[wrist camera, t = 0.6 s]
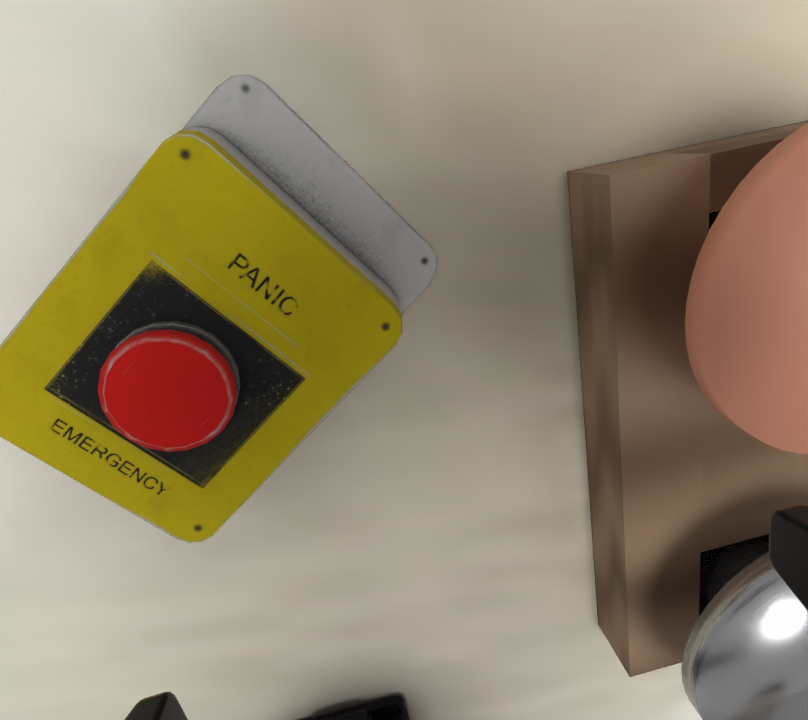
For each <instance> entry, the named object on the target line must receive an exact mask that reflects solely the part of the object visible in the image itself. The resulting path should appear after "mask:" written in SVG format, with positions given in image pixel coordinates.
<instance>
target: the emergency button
mask: <svg viewBox="0 0 808 720" xmlns="http://www.w3.org/2000/svg"><path fill="white" fill-rule="evenodd" d="M436 262H437V257H436V256H435V254H434V252H433V250H432V248H431V246H430V245H429V244H428V243H427V242H426V241H425V240H424V239H423V238H422V237H421V236H420V235H419V234H418V233H417V232H416V231H415V230H414V229H413V228H412V227H411V226H410V225H409V224H408V223H407V222H406V221H405V220H404V219H403V218H402V217H401V216H400V215H399V214H398V213H396V212H395V211H394V210H393V209H392V208H391V207H390V206H389V205H388V204H387V203H386V202H385V201H384V200H383V199H382V198H381V197H380V196H379V195H378V194H377V193H376V192H375V191H374V190H373V189H372V188H371V187H370V186H369V185H368V184H367V183H366V182H365V181H364V180H363V179H362V178H361V177H360V176H359V175H358V174H357V173H356V172H355V171H354V170H353V169H352V168H351V167H350V166H349V165H348V164H347V163H346V162H344V161H343V160H342V159H341V158H340V157H339V156H338V155H337V154H336V153H335V152H334V151H333V150H332V149H331V148H330V147H329V146H328V145H327V144H326V143H325V142H324V141H323V140H322V139H321V138H320V137H319V136H318V135H317V134H316V133H315V132H314V131H313V130H312V129H311V128H310V127H309V126H308V125H307V124H306V123H305V122H304V121H303V120H302V119H301V118H300V117H299V116H298V115H297V114H296V113H295V112H293V111H292V110H291V109H290V108H289V107H288V106H287V105H286V104H285V103H284V102H283V101H282V100H281V99H280V98H279V97H278V96H277V95H276V94H275V93H274V92H273V91H272V90H271V89H270V88H269V87H268V86H267V85H266V84H265V83H263V82H261V81H259V80H258V79H256V78H254V77H252V76H250V75H242V76H231V77H230V78H228V79H227V80H226V81H224V82H223V83H222V84H220V85H219V86H218V87H216V88H215V90H214V91H213V92H212V93H211V95H210V96H209V97H208V98H207V100H206V101H205V102H204V103H203V105H202V106H201V107H200V108H199V110H198V111H197V112H196V113H195V115H194V116H193V117H192V118H191V120H190V121H189V122H188V123H187V125H186V126H185V127H184V128H183V130H180V131H179V132H177V133H176V134H174V135H173V136H171V137H169V138H168V139H166V140H165V141H164V142H162V144H161V145H160V146H159V147H158V149H157V150H156V151H155V152H154V154H153V155H152V156H151V157H150V159H149V160H148V161H147V162H146V164H145V165H144V166H143V167H142V169H141V170H140V171H139V172H138V174H137V175H136V176H135V177H134V179H133V180H132V181H131V182H130V184H129V185H128V186H127V187H126V189H125V190H124V191H123V192H122V194H121V195H120V196H119V197H118V199H117V200H116V201H115V202H114V204H113V205H112V206H111V207H110V209H109V210H108V211H107V212H106V214H105V215H104V216H103V217H102V219H101V220H100V221H99V222H98V224H97V225H96V226H95V227H94V229H93V230H92V231H91V232H90V234H89V235H88V236H87V237H86V239H85V240H84V241H83V242H82V244H81V245H80V246H79V247H78V249H77V250H76V251H75V252H74V254H73V255H72V256H71V257H70V259H69V260H68V261H67V262H66V264H65V265H64V266H63V267H62V269H61V270H60V271H59V272H58V274H57V275H56V276H55V277H54V279H53V280H52V281H51V282H50V284H49V285H48V286H47V287H46V289H45V290H44V291H43V292H42V294H41V295H40V296H39V297H38V299H37V300H36V301H35V302H34V304H33V305H32V306H31V307H30V309H29V310H28V311H27V312H26V314H25V315H24V316H23V317H22V319H21V320H20V321H19V322H18V324H17V325H16V326H15V327H14V329H13V330H12V331H11V332H10V334H9V335H8V336H7V337H6V339H5V340H4V341H3V342H2V344H1V345H0V437H2V438H4V439H5V440H7V441H9V442H11V443H12V444H14V445H16V446H17V447H19V448H21V449H23V450H24V451H26V452H28V453H30V454H31V455H33V456H35V457H36V458H38V459H40V460H42V461H43V462H45V463H47V464H49V465H50V466H52V467H54V468H55V469H57V470H59V471H61V472H62V473H64V474H66V475H68V476H69V477H71V478H73V479H74V480H76V481H78V482H80V483H81V484H83V485H85V486H87V487H88V488H90V489H92V490H93V491H95V492H97V493H99V494H100V495H102V496H104V497H106V498H107V499H109V500H111V501H112V502H114V503H116V504H118V505H119V506H121V507H123V508H125V509H126V510H128V511H130V512H131V513H133V514H135V515H137V516H138V517H140V518H142V519H144V520H145V521H147V522H149V523H150V524H152V525H154V526H156V527H157V528H159V529H161V530H163V531H164V532H166V533H168V534H169V535H171V536H173V537H175V538H177V539H180V540H183V541H186V542H202V541H204V540H205V539H207V538H209V537H211V536H212V535H213V534H214V533H215V532H216V531H217V530H218V529H219V528H220V527H221V526H222V525H223V524H224V523H225V522H226V521H227V520H228V519H229V518H230V516H231V515H232V514H233V513H234V512H235V511H236V510H237V509H238V508H239V507H240V506H241V505H242V504H243V503H244V502H245V501H246V500H247V499H248V498H249V497H250V496H251V495H252V494H253V492H254V491H255V490H256V489H257V488H258V487H259V486H260V485H261V484H262V483H263V482H264V481H265V480H266V479H267V478H268V477H269V476H270V475H271V474H272V473H273V472H274V471H275V470H276V468H277V467H278V466H279V465H280V464H281V463H282V462H283V461H284V460H285V459H286V458H287V457H288V456H289V455H290V454H291V453H292V452H293V451H294V450H295V449H296V448H297V447H298V446H299V444H300V443H301V442H302V441H303V440H304V439H305V438H306V437H307V436H308V435H309V434H310V433H311V432H312V431H313V430H314V429H315V428H316V427H317V426H318V425H319V424H320V423H321V421H322V420H323V419H324V418H325V417H326V416H327V415H328V414H329V413H330V412H331V411H332V410H333V409H334V408H335V407H336V406H337V405H338V404H339V403H340V402H341V401H342V400H343V399H344V397H345V396H346V395H347V394H348V393H349V392H350V391H351V390H352V389H353V388H354V387H355V386H356V385H357V384H358V383H359V382H360V381H361V380H362V379H363V378H364V377H365V376H366V375H367V373H368V372H369V371H370V370H371V369H372V368H373V367H374V366H375V365H376V364H377V363H378V362H379V361H380V360H381V359H382V358H383V357H384V356H385V355H386V354H387V353H388V352H389V351H390V349H391V348H392V347H393V346H394V345H395V344H396V343H397V341H398V339H399V337H400V335H401V333H402V318H401V314H402V313H403V311H404V310H405V309H406V308H407V307H408V306H409V305H410V304H411V303H412V302H413V301H414V300H415V299H416V298H417V297H418V296H419V295H420V294H421V293H422V291H423V290H424V289H425V288H426V287H427V286H428V285H429V283H430V281H431V280H432V278H433V276H434V275H435V273H436Z"/></svg>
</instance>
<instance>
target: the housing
mask: <svg viewBox="0 0 808 720" xmlns="http://www.w3.org/2000/svg"><path fill="white" fill-rule="evenodd" d="M807 123H808V121H804V122H800V123H795V124H790V125H785V126H781V127H776V128H771V129H766V130H762V131H757V132H752V133H748V134H743V135H738V136H733V137H729V138H724V139H719V140H714V141H710V142H705V143H700V144H695V145H691V146H686V147H681V148H676V149H672V150H667V151H662V152H657V153H653V154H648V155H643V156H638V157H634V158H629V159H624V160H619V161H615V162H610V163H605V164H600V165H596V166H591V167H586V168H581V169H577V170H572V171H568V183H569V198H570V212H571V227H572V242H573V257H574V271H575V286H576V301H577V315H578V330H579V345H580V360H581V374H582V389H583V404H584V418H585V433H586V448H587V463H588V477H589V492H590V507H591V521H592V536H593V551H594V566H595V580H596V595H597V610H598V624H599V626H600V628H601V630H602V631H603V633H604V635H605V636H606V638H607V640H608V641H609V643H610V645H611V646H612V648H613V650H614V651H615V653H616V655H617V656H618V658H619V660H620V661H621V663H622V665H623V666H624V668H625V670H626V671H627V673H628V675H629V676H630V677H632V676H635V675H639V674H642V673H646V672H649V671H653V670H656V669H660V668H663V667H667V666H670V665H674V664H678V663H681V662H682V659H683V654H684V650H685V646H686V643H687V641H688V638H689V636H690V633H691V631H692V629H693V627H694V625H695V623H696V622H697V620H698V618H699V616H700V615H701V613H702V612H703V611H704V609H705V608H706V606H707V605H708V604H709V602H710V600H709V599H708V598H707V596H706V594H705V591H704V579H705V575H706V573H707V571H708V569H709V567H708V568H705V569H701V570H700V553H701V552H704V551H707V550H711V549H715V548H718V547H722V546H726V545H730V544H733V543H737V542H741V541H743V542H746V541H752V540H759V541H764V542H767V543H769V528H770V517H771V515H772V513H773V512H774V511H776V510H780V509H783V508H786V507H790V506H793V505H805V506H808V454H798V453H793V452H788V451H783V450H780V449H778V448H775V447H772V446H770V445H767V444H765V443H763V442H762V441H760V440H758V439H757V438H755V437H753V436H752V435H750V434H748V433H747V432H745V431H744V430H742V429H741V428H739V427H738V426H736V425H735V424H733V423H732V422H730V421H729V420H727V419H726V418H725V417H724V416H723V415H722V414H720V413H719V412H718V411H717V410H716V409H715V408H714V407H713V406H712V404H711V403H710V402H709V401H708V400H707V398H706V397H705V396H704V394H703V392H702V390H701V389H700V387H699V385H698V383H697V382H696V379H695V376H694V374H693V371H692V368H691V365H690V362H689V357H688V352H687V347H686V335H685V315H686V302H687V296H688V291H689V286H690V281H691V277H692V274H693V271H694V268H695V264H696V261H697V258H698V255H699V253H700V250H701V248H702V246H703V243H704V241H705V239H706V237H707V234H708V232H709V213H711V212H715V211H720V210H721V209H722V207H723V206H724V204H725V203H726V202H727V200H728V199H729V197H730V196H731V195H732V193H733V192H734V190H735V189H736V187H737V186H738V185H739V184H740V182H741V181H742V180H743V179H744V178H745V177H746V176H747V174H748V173H749V172H750V171H751V170H752V169H753V168H754V166H755V165H756V164H757V163H758V162H759V161H760V160H761V159H762V158H763V157H765V156H766V155H767V154H768V153H769V152H770V151H771V150H772V149H773V148H774V147H775V146H776V145H777V144H779V143H780V142H781V141H783V140H784V139H785V138H787V137H788V136H789V135H791V134H792V133H793V132H795V131H796V130H797V129H799V128H800V127H802V126H804V125H805V124H807Z"/></svg>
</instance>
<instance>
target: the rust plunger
mask: <svg viewBox="0 0 808 720" xmlns="http://www.w3.org/2000/svg"><path fill="white" fill-rule="evenodd" d="M685 335H686V347H687V352H688V357H689V362H690V365H691V368H692V371H693V374H694V376H695V379H696V382H697V383H698V385H699V387H700V389H701V390H702V392H703V394H704V396H705V397H706V398H707V400H708V401H709V402H710V403H711V404H712V406H713V407H714V408H715V409H716V410H717V411H718V412H719V413H720V414H722V415H723V416H724V417H725V418H726V419H727V420H729V421H730V422H732V423H733V424H735V425H736V426H738V427H739V428H741V429H742V430H744V431H745V432H747V433H748V434H750V435H752V436H753V437H755V438H757V439H758V440H760V441H762V442H763V443H765V444H767V445H770V446H772V447H775V448H778V449H780V450H783V451H788V452H793V453H798V454H808V123H807V124H805V125H804V126H802V127H800V128H799V129H797V130H796V131H795V132H793V133H792V134H791V135H789V136H788V137H787V138H785V139H784V140H783V141H781V142H780V143H779V144H777V145H776V146H775V147H774V148H773V149H772V150H771V151H770V152H769V153H768V154H767V155H766V156H765V157H763V158H762V159H761V160H760V161H759V162H758V163H757V164H756V165H755V166H754V168H753V169H752V170H751V171H750V172H749V173H748V174H747V176H746V177H745V178H744V179H743V180H742V181H741V182H740V184H739V185H738V186H737V187H736V189H735V190H734V192H733V193H732V195H731V196H730V197H729V199H728V200H727V202H726V203H725V204H724V206H723V207H722V209H721V211H720V212H719V214H718V216H717V218H716V219H715V221H714V223H713V225H712V226H711V228H710V230H709V232H708V234H707V237H706V239H705V241H704V243H703V246H702V248H701V250H700V253H699V255H698V258H697V261H696V264H695V268H694V271H693V274H692V277H691V281H690V286H689V291H688V296H687V302H686V315H685Z"/></svg>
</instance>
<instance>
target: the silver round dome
mask: <svg viewBox="0 0 808 720" xmlns="http://www.w3.org/2000/svg"><path fill="white" fill-rule="evenodd" d="M704 591H705V594H706V596H707V598H708V599H709V600H710V602H709V604H708V605H707V606H706V608H705V609H704V611H703V612H702V613H701V615H700V616H699V618H698V620H697V622H696V623H695V625H694V627H693V629H692V631H691V633H690V636H689V638H688V641H687V643H686V646H685V650H684V654H683V659H682V682H683V685H684V689H685V692H686V694H687V696H688V698H689V700H690V702H691V703H692V705H693V706H694V708H695V709H696V711H697V712H698V713H699V715H700V716H701V718H702V719H703V720H808V611H807V610H806V608H805V607H804V606H803V605H802V603H801V602H800V601H799V600H798V598H797V597H796V596H795V595H794V593H793V592H792V591H791V590H790V588H789V587H788V586H787V584H786V583H785V582H784V581H783V579H782V578H781V577H780V576H779V574H778V573H777V572H776V570H775V569H774V567H773V565H772V563H771V561H770V557H769V543H767V542H764V541H759V540H752V541H746V542H742V543H739V544H737V545H734V546H732V547H731V548H729V549H727V550H726V551H724V552H723V553H722V554H721V555H719V556H718V557H717V558H716V559H715V561H714V562H713V563H712V564H711V566H710V567H709V569H708V571H707V573H706V575H705V579H704Z"/></svg>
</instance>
